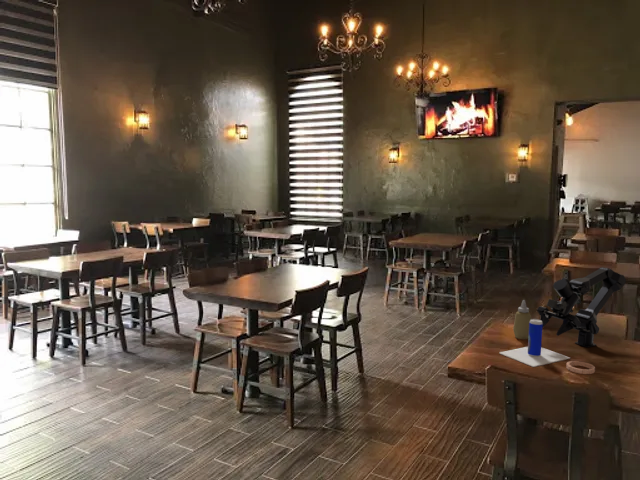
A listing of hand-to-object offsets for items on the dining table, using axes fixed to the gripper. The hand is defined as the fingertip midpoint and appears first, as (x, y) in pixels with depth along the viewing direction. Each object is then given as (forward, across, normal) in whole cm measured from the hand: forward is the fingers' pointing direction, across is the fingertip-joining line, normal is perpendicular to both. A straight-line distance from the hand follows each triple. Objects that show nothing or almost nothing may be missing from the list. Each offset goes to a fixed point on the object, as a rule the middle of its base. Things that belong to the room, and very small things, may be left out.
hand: (547, 332), depth 227 cm
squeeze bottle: (+2, -20, +12) cm, 23 cm away
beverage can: (+12, 0, +1) cm, 12 cm away
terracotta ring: (+9, +19, +4) cm, 21 cm away
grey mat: (+12, 0, +1) cm, 12 cm away
